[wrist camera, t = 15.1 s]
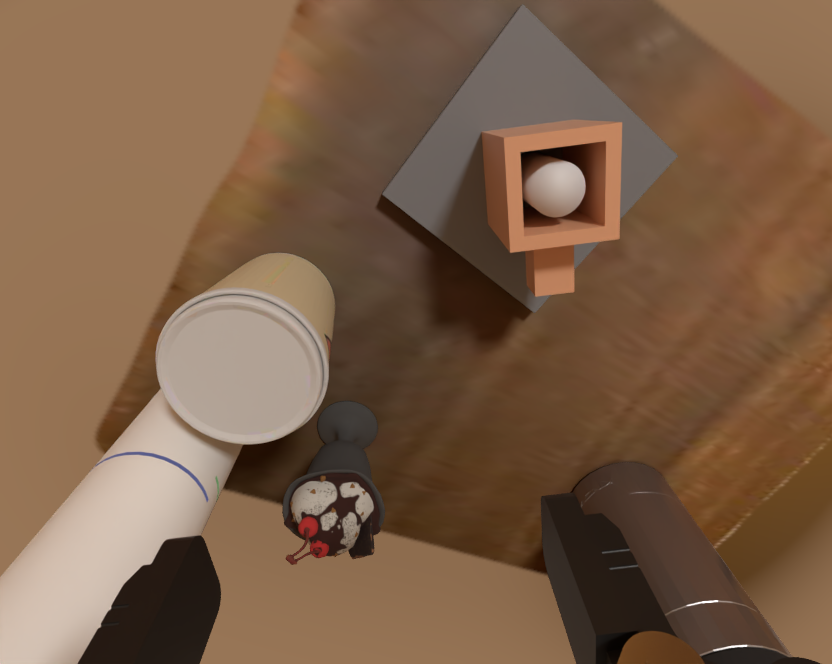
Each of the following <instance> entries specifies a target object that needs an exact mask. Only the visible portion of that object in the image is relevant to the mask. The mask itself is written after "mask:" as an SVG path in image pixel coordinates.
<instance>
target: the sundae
mask: <svg viewBox="0 0 832 664" xmlns="http://www.w3.org/2000/svg"><path fill="white" fill-rule="evenodd" d="M317 428H318V433H319V435H320V438H321V439H322V440H323V441H324V443H325V445H324V446H322V447H321V449H320V450H319V451H318V453H317V454H316V456H315V458H314V459H313V461H312V462H311V465H310V467H309V469H308V471H307V474H306V475H304V476H302V477H300V478H298V479H296V480H295V481H293V482H292V483H291V484H290V486H289V487H288V489H287V491H286V493H285V495H284V500H283V512H282V513H283V517H284V524H285V525H286V527H288V528H289V529H290V530H291V531H292V532H293V533H294V534H295V535H296V536H298V537H299V538H302V539H303V540H305V543H304V545H303V547H302V548H301V549H300V550H299V551H297V552H296V553H294V554H293V555H288V556H287V557H286V560H287V561H288V562H290V563H291V564H292V565H293V564H297V561H298V560H300V559H302V558H303V557H305V556H307V555H310V554H312V555H313V556H314V557H316V558H321V557H325V556H335V557H336V556H337V555H340V554H342V553H344V552H346V551H349V554H350V556H351V557H352V559H356V558H361V557H365V556H367V555H372V554H373V553H374V539H373V535H376V534H378V533H379V532H380V526H381V525H382V523H383V520H384V516H385V508H384V503H383V500H382V497H381V495H380V493H379V492H378V490H377V488H376V487H375V485H374V484H373V483H372V478H371V470H370V466H369V462H368V459H367V456H366V453H365V452H364V450H363V449H364V448H366V447H367V446H369V445H370V444H371V443H372V442H373V440H374V439H375V437H376V434H377V429H378V425H377V421H376V418H375V416H374V415H373V413H372V412H371V411H370V410H369V409H368V408H367V407H365V406H364V405H362V404H359V403H356V402H351V401H342V402H337V403H334V404H332V405H330V406H328V407H327V408H326V409H325V410H324V411H323V412H322V413H321V415H320V417H319V419H318V426H317ZM307 543H309V544H310V552H309V553H307V554H305V555H303V556H302V557H300V558H298V559H295V560H294V558H293V557H294V556H295V555H297V554H298V553H299V552H301V551H302V550H303V549H304V548H305V546H306V544H307Z"/></svg>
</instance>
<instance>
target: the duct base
mask: <svg viewBox="0 0 832 664" xmlns="http://www.w3.org/2000/svg"><path fill="white" fill-rule="evenodd" d="M567 120H591V121H609V122H622V153H621V192H620V219H621V218H622V217H623V216H624V215H625V214H626V212H627V211H628V210H629V209H630V208H631V207H632V206H633V205H634V204H635V203H636V201H637V200H638V199H639V198H640V197H641V196H642V195H643V194H644V193H645V192H646V191H647V189H648V188H649V187H650V186H651V185H652V184H653V183H654V182H655V181H656V180H657V178H658V177H659V176H660V175H661V174H662V173H663V172H664V171H665V170H666V169H667V168H668V166H669V165H670V164H671V163H672V162H673V161H674V160H675V159H676V158H677V157H678V155H677V154H676V153H675V152H674V151H673V150H672V149H671V148H669V147H668V146H667V145H666V144H665V143H664V142H663V141H662V140H661V139H660V138H659V137H658V136H657V135H656V134H655V133H654V132H653V131H652V130H651V129H650V128H649V127H648V126H647V125H646V124H645V123H644V122H643V121H642V120H641V119H640V118H639V117H638V116H637V115H636V114H635V113H634V112H633V111H632V110H631V109H630V108H629V107H627V106H626V105H625V104H624V103H623V102H622V101H621V100H620V99H619V98H618V97H617V96H616V95H615V94H614V93H613V92H612V91H611V90H610V89H609V88H608V87H607V86H606V85H605V84H604V83H603V82H602V81H601V80H600V79H599V78H598V77H597V76H596V75H595V74H594V73H593V72H592V71H591V70H590V69H589V68H588V67H587V66H585V65H584V64H583V63H582V62H581V61H580V60H579V59H578V58H577V57H576V56H575V55H574V54H573V53H572V52H571V51H570V50H569V49H568V48H567V47H566V46H565V45H564V44H563V43H562V42H561V41H560V40H559V39H558V38H557V37H556V36H555V35H554V34H553V33H552V32H551V31H550V30H549V29H548V28H547V27H546V26H544V25H543V24H542V23H541V22H540V21H539V20H538V19H537V18H536V17H535V16H534V15H533V14H532V13H531V12H530V11H529V10H528V9H527V8H526V7H525V6H524V5H523V4H522V5H521V6H520V7H519V8H518V9H517V10H516V12H515V13H514V14H513V16H512V17H511V19H510V20H509V21H508V23H507V24H506V25H505V27H504V28H503V29H502V31H501V32H500V33H499V35H498V36H497V37H496V39H495V40H494V42H493V43H492V44H491V46H490V47H489V48H488V50H487V51H486V52H485V54H484V55H483V56H482V58H481V59H480V60H479V62H478V63H477V65H476V66H475V67H474V69H473V70H472V71H471V73H470V74H469V75H468V77H467V78H466V79H465V81H464V82H463V84H462V85H461V86H460V88H459V89H458V90H457V92H456V93H455V94H454V96H453V97H452V98H451V100H450V101H449V102H448V104H447V105H446V107H445V108H444V109H443V111H442V112H441V113H440V115H439V116H438V117H437V119H436V120H435V121H434V123H433V124H432V125H431V127H430V128H429V130H428V131H427V132H426V134H425V135H424V136H423V138H422V139H421V140H420V142H419V143H418V144H417V146H416V147H415V148H414V150H413V151H412V153H411V154H410V155H409V157H408V158H407V159H406V161H405V162H404V163H403V165H402V166H401V167H400V169H399V170H398V171H397V173H396V174H395V176H394V177H393V178H392V180H391V181H390V182H389V184H388V185H387V186H386V188H385V189H384V190H383V192H382V195H384V196H385V197H386V198H388V199H389V200H390V201H391V202H393V203H394V204H395V205H396V206H398V207H399V208H400V209H402V210H403V211H404V212H405V213H407V214H408V215H409V216H411V217H412V218H413V219H414V220H416V221H417V222H418V223H420V224H421V225H422V226H423V227H425V228H426V229H427V230H429V231H430V232H431V233H432V234H434V235H435V236H436V237H438V238H439V239H440V240H441V241H443V242H444V243H445V244H447V245H448V246H449V247H450V248H452V249H453V250H454V251H456V252H457V253H458V254H459V255H461V256H462V257H463V258H464V259H466V260H467V261H468V262H470V263H471V264H472V265H473V266H475V267H476V268H477V269H479V270H480V271H481V272H482V273H484V274H485V275H486V276H488V277H489V278H490V279H491V280H493V281H494V282H495V283H497V284H498V285H499V286H500V287H502V288H503V289H504V290H506V291H507V292H508V293H509V294H511V295H512V296H513V297H515V298H516V299H517V300H518V301H520V302H521V303H522V304H524V305H525V306H526V307H527V308H529V309H530V310H531V311H532V312H534V313H535V312H536V311H537V310H538V309H539V308H540V307H541V306H542V304H543V303H544V302H545V301H546V300H547V299H548V298H549V297H550V296H551V295H545V296H537V297H535V296H534V294H533V293H532V291H531V290H530V289H529V287H528V286H527V279H526V256H525V251H521V252H513V253H510V252H509V251H508V249H507V248H506V247H505V245H504V244H503V243H502V242H501V240H500V239H499V238H498V236H497V235H496V234H495V232H494V231H493V230H492V229H491V227H490V226H489V225H488V217H487V203H486V189H485V175H484V160H483V146H482V132H483V131H491V130H499V129H506V128H514V127H521V126H529V125H537V124H544V123H552V122H560V121H567ZM520 154H521V177H522V200H523V208H526V207H534V208H535V209H536V210H538V211H539V212H540V213H542V214H544V215H546V216H549V217H562V216H565V215H567V214H569V213H571V212H572V211H574V210H575V209H576V208H577V207H578V206H579V204H580V203H581V201H582V199H583V197H584V194H585V187H586V185H585V179H584V176H583V174H582V172H581V171H580V169H579V168H578V167H577V166H575V165H574V164H572V163H570V162H567V161H564V160H562V147H557V148H549V149H541V150H534V151H526V152H520ZM598 243H599V242H592V243H584V244H576V245H574V269H575V268H576V267H577V266H578V265H579V264H580V263H581V262H582V261H583V260H584V258H585V257H586V256H587V255H588V254H589V253H590V252H591V251H592V250H593V249H594V247H595V246H596V245H597V244H598Z"/></svg>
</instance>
